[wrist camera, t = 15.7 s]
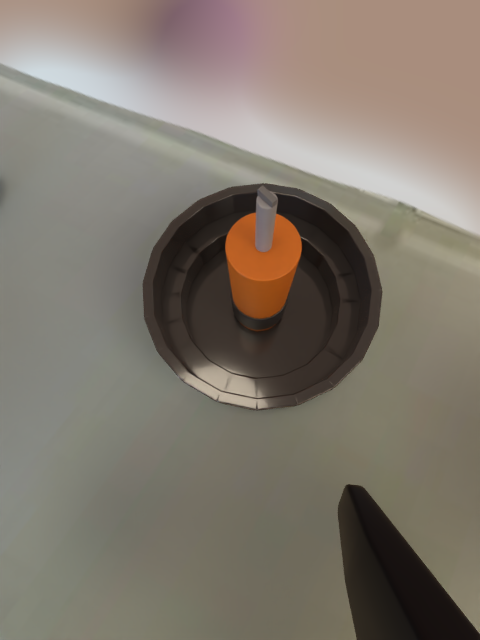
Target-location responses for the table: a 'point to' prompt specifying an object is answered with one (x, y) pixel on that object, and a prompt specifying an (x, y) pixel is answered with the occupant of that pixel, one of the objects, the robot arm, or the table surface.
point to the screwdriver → (262, 263)
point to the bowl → (298, 318)
